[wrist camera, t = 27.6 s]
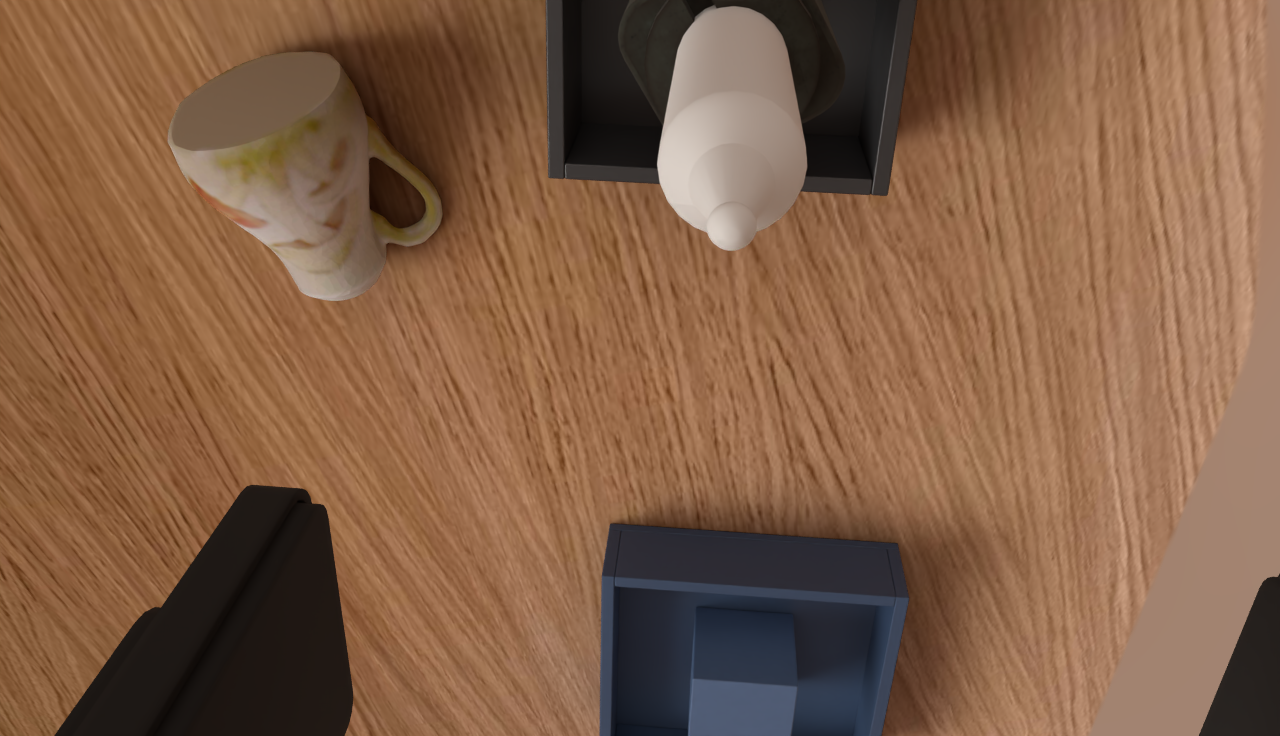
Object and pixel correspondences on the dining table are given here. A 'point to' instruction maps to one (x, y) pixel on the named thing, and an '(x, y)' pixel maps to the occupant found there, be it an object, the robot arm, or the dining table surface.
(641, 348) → the dining table surface
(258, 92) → the mug
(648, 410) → the dining table surface
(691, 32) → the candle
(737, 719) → the blue block
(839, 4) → the charcoal bin
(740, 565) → the blue bin
